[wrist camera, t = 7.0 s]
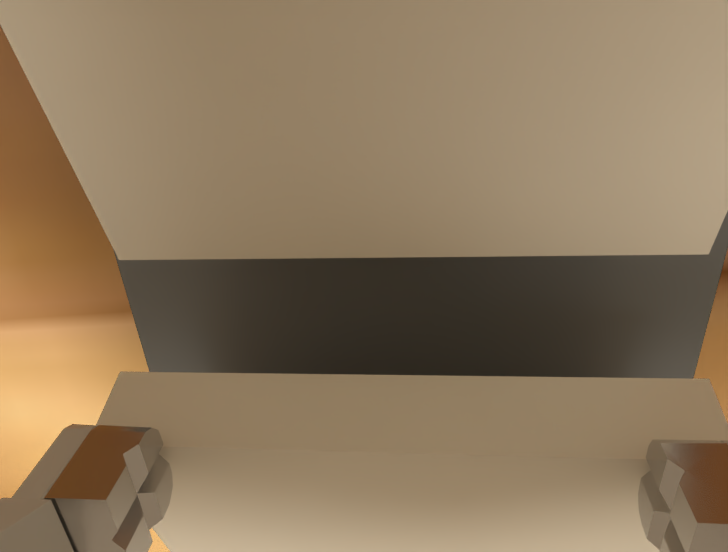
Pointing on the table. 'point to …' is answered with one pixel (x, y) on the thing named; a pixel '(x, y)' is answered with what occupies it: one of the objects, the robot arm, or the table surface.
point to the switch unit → (428, 314)
